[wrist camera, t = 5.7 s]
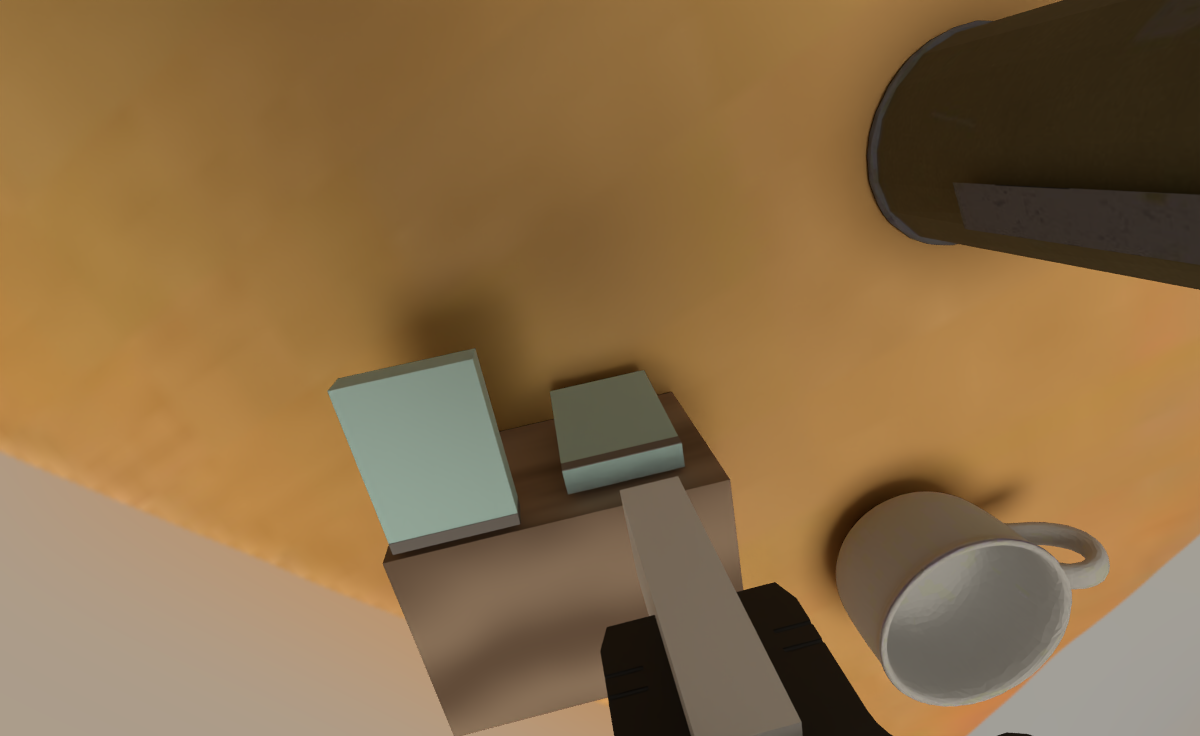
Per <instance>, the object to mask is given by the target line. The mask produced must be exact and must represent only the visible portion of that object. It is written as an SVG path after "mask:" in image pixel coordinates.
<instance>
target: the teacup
mask: <svg viewBox="0 0 1200 736" xmlns="http://www.w3.org/2000/svg"><path fill="white" fill-rule="evenodd" d="M1038 545H1049V546H1056V547H1062V548H1066V549H1070V550H1073V551H1075V552H1077V553H1079V554H1081V555H1082V556H1083V557H1085V560H1084V561H1082V562H1078V563H1073V564H1066V563H1059V562H1058V561H1057V560H1056V559H1055V558H1054V557H1053V556H1052V555H1051V554H1050V553H1049V552H1047V551H1046V550H1045V549H1043V548H1041V547H1040V546H1038ZM1109 567H1110V565H1109V558H1108V555H1107V553H1106V551H1105V549H1104V547H1103V546H1102V545H1101V543H1100V542H1098V541H1097V540H1096V539H1095V538H1094V537H1092V536H1091V535H1089V534H1088V533H1086V532H1084V531H1082V530H1079V529H1077V528H1074V527H1071V526H1067V525H1062V524H1055V523H1047V522H1024V523H1007V524H1006V523H1002V522H1001V521H999V520H998V519H997V518H995V517H993V516H992V515H990V514H989V513H987V512H986V511H984V510H983V509H981V508H979V507H977V506H976V505H974V504H972V503H970V502H968V501H966V500H964V499H962V498H959V497H956V496H953V495H950V494H945V493H940V492H927V491H925V492H913V493H908V494H903V495H899V496H897V497H894V498H891V499H889V500H887V501H884V502H883V503H881V504H879V505H877V506H875V507H874V508H873V509H871V510H870V511H869V512H867V513H866V514H865V515H864V516H863V517H862V518H860V519H859V521H858V522H857V523H856V524H855V525H854V526H853V527H852V529H851V530H850V531H849V533H848V534H847V536H846V538H845V540H844V541H843V544H842V546H841V549H840V551H839V555H838V559H837V564H836V583H837V588H838V593H839V596H840V599H841V601H842V604H843V606H844V608H845V610H846V612H847V613H848V615H849V617H850V619H851V620H852V622H853V624H854V625H855V627H856V628H857V630H858V631H859V633H860V634H861V636H862V637H863V639H864V640H865V642H866V643H867V645H868V646H869V647H870V649H871V650H872V651H873V653H874V654H875V656H876V657H877V658H878V660H879V661H880V662H881V664H882V666H883V669H884V671H885V673H886V675H887V677H888V678H889V679H890V681H891V682H892V684H893V685H894V686H895V687H896V688H897V689H898V690H900V691H901V692H902V693H904V694H905V695H907V696H909V697H911V698H912V699H914V700H917V701H920V702H922V703H927V704H930V705H938V706H960V705H969V704H975V703H977V702H981V701H985V700H988V699H990V698H993V697H995V696H998V695H1000V694H1002V693H1004V692H1006V691H1007V690H1009V689H1011V688H1013V687H1015V686H1017V685H1018V684H1020V683H1021V682H1023V681H1024V680H1026V679H1027V678H1028V677H1030V676H1031V675H1032V674H1033V673H1034V672H1035V671H1036V670H1038V669H1039V668H1040V667H1041V666H1042V665H1043V664H1044V663H1045V661H1046V660H1047V659H1048V658H1049V657H1050V656H1051V655H1052V653H1053V652H1054V650H1055V649H1056V647H1057V646H1058V644H1059V643H1060V641H1061V639H1062V637H1063V636H1064V633H1065V630H1066V628H1067V625H1068V622H1069V617H1070V611H1071V605H1072V592H1071V589H1086V588H1089V587H1093V586H1096V585H1098V584H1099V583H1101V582H1103V581H1104V580H1105V578H1106V576H1107V574H1108V573H1109Z"/></svg>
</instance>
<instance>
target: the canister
mask: <svg viewBox="0 0 1200 736" xmlns="http://www.w3.org/2000/svg"><path fill="white" fill-rule="evenodd" d="M867 158H868V171H869V182H870V185H871V188H872V191H873V194H874V196H875V199H876V201H877V203H878V206H879V207H880V209H881V211H882V213H883V214H884V216H885V217H886V218H887V219H888V221H889V222H890V223H891V224H892V225H894V226H895V227H896V228H898V229H899V230H900V231H902V232H903V233H904V234H905V235H907V236H908V237H909V238H912V239H914V240H917V241H921V242H924V243H927V244H934V245H955V244H962V245H967V246H972V247H977V248H983V249H988V250H993V251H999V252H1004V253H1009V254H1014V255H1020V256H1025V257H1030V258H1036V259H1041V260H1046V261H1051V262H1057V263H1062V264H1067V265H1072V266H1078V267H1083V268H1088V269H1094V270H1099V271H1104V272H1109V273H1115V274H1120V275H1125V276H1131V277H1136V278H1141V279H1146V280H1152V281H1157V282H1162V283H1167V284H1173V285H1178V286H1183V287H1189V288H1194V289H1199V290H1200V0H1063V1H1059V2H1056V3H1053V4H1049V5H1046V6H1043V7H1039V8H1036V9H1033V10H1029V11H1026V12H1023V13H1020V14H1016V15H1013V16H1010V17H1006V18H1003V19H1000V20H996V21H974V22H971V23H967V24H964V25H961V26H957V27H954V28H952V29H950V30H948V31H947V32H945V33H943V34H941V35H939V36H937V37H935V38H934V39H932V40H930V41H929V42H927V43H926V44H925V45H924V46H923V47H922V48H920V49H919V50H918V51H917V52H916V53H914V54H913V55H912V56H911V57H910V58H909V59H908V61H907V62H906V63H905V64H904V65H903V66H902V68H901V69H900V70H899V72H898V73H897V75H896V76H895V78H894V79H893V80H892V82H891V83H890V85H889V87H888V89H887V91H886V93H885V95H884V97H883V99H882V101H881V103H880V105H879V107H878V109H877V111H876V114H875V118H874V121H873V125H872V128H871V131H870V137H869V145H868V154H867Z"/></svg>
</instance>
